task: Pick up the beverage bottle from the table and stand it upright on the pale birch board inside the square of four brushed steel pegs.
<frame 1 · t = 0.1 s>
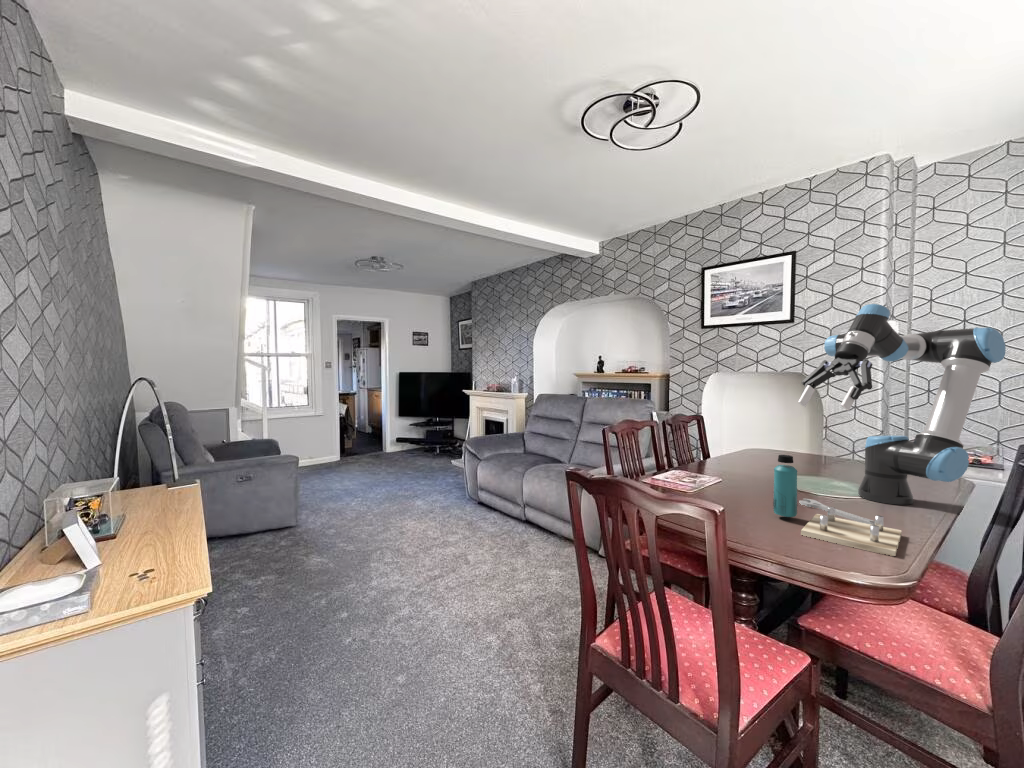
hand: (822, 406, 130), 36 cm above the table, tool tilted 35°, fingers open, 13 cm apart
adjustable wrench: (834, 515, 141), on the table
beverage bottle: (784, 519, 136), on the table
birch board: (851, 535, 122), on the table
steel pegs: (851, 523, 122), on the birch board, point 4 cm above the table
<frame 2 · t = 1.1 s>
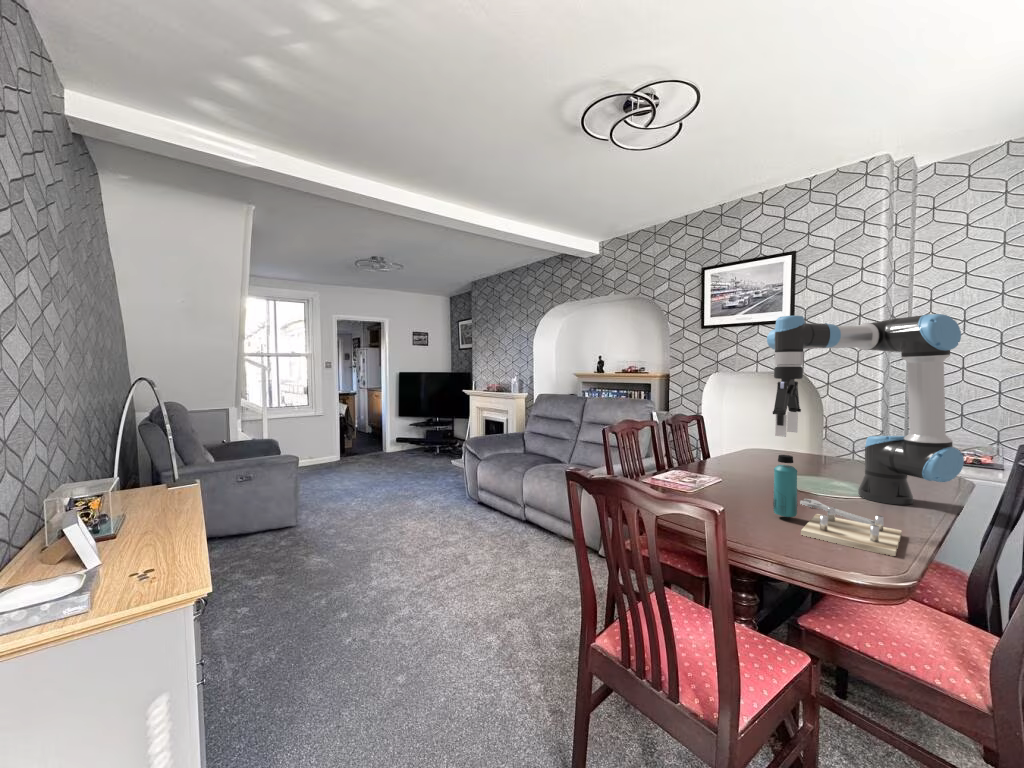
hand: (786, 434, 135), 27 cm above the table, tool pointing down, fingers open, 13 cm apart
nothing on the table moved.
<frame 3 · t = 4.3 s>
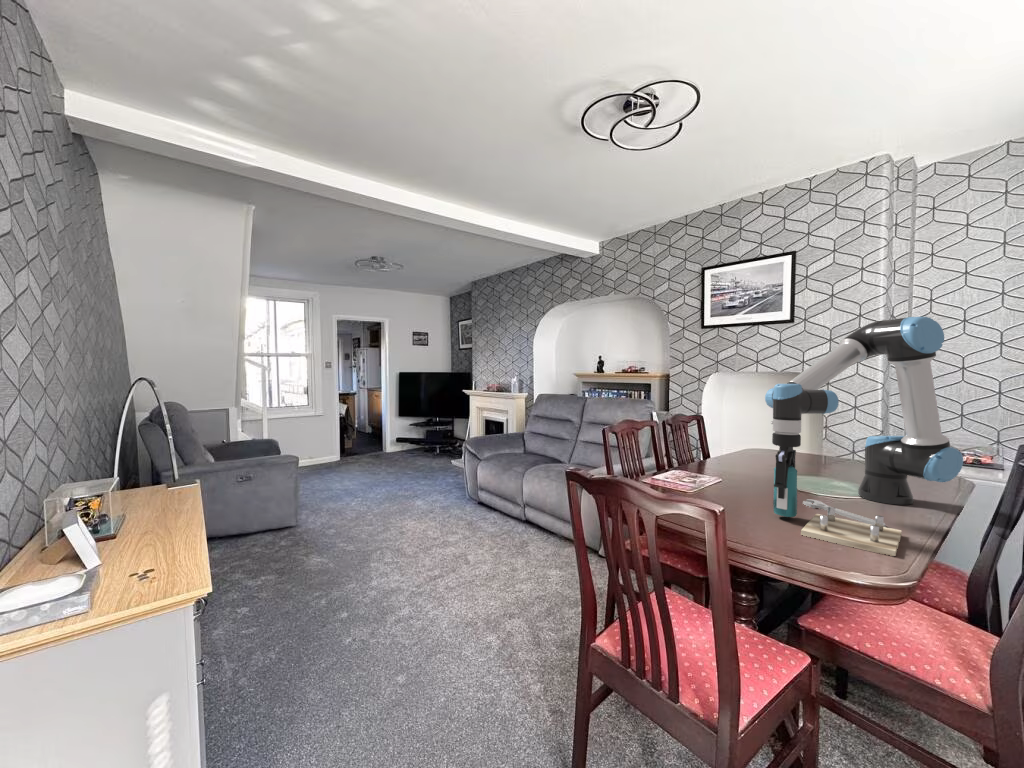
hand: (784, 505, 136), 4 cm above the table, tool pointing down, fingers closed on beverage bottle, 6 cm apart
beverage bottle: (784, 519, 136), on the table, touching gripper
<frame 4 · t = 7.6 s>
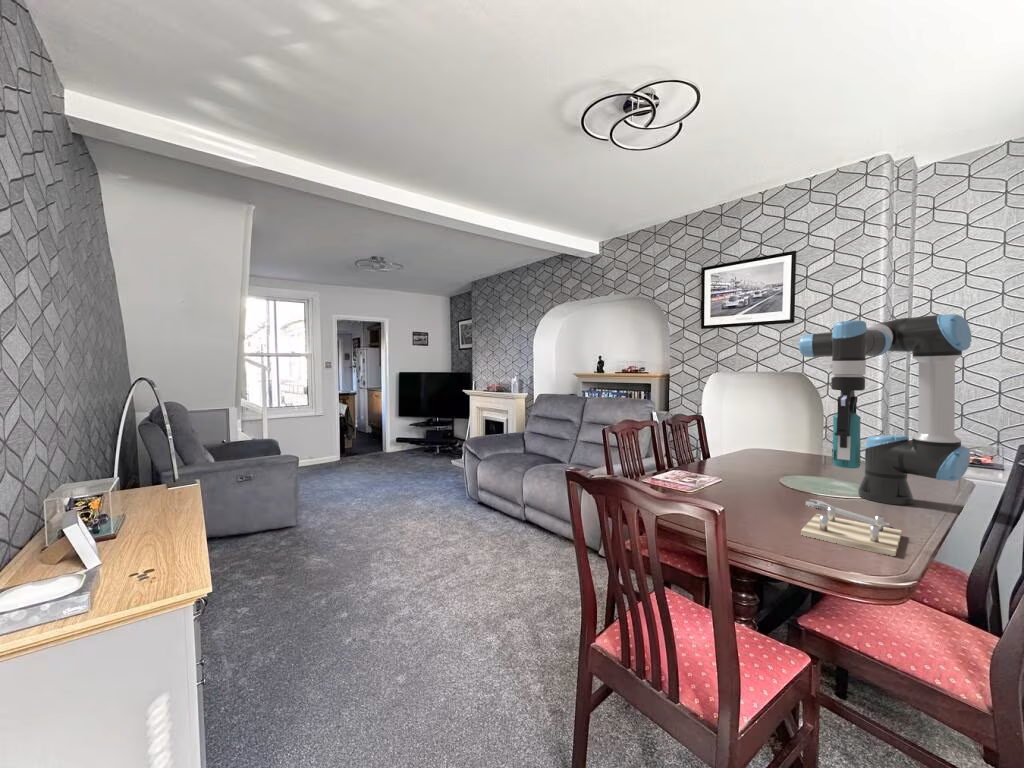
hand: (846, 457, 123), 22 cm above the table, tool pointing down, fingers closed on beverage bottle, 6 cm apart
beverage bottle: (845, 471, 123), point 18 cm above the table, touching gripper
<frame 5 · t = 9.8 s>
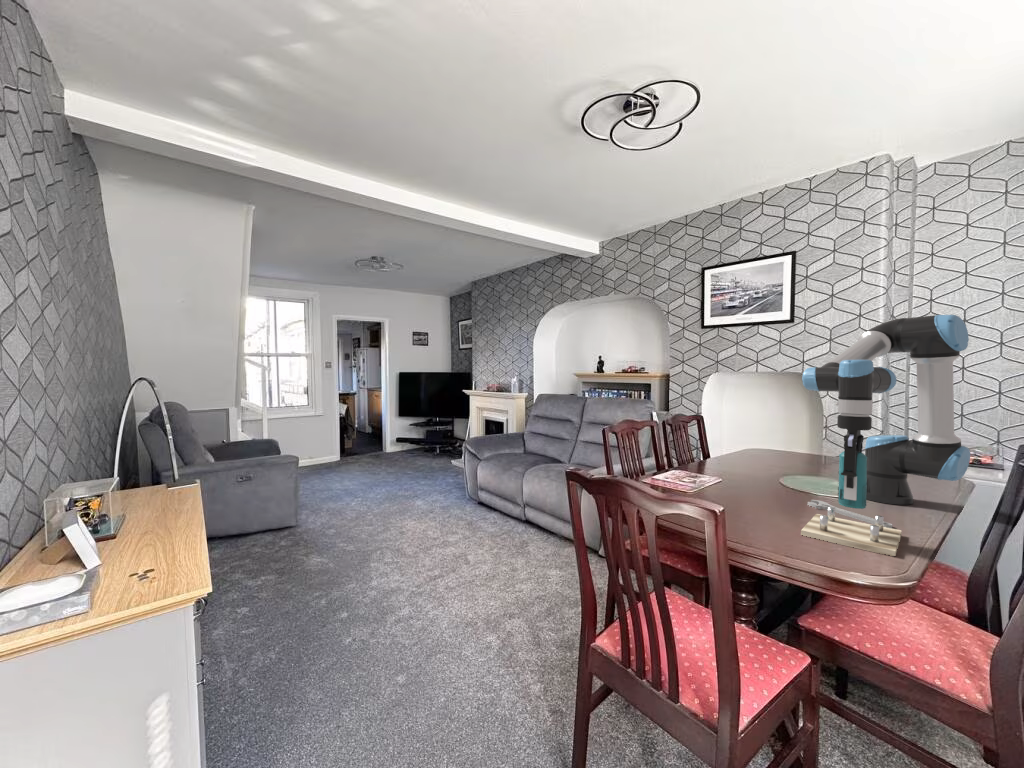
hand: (852, 496, 122), 11 cm above the table, tool pointing down, fingers closed on beverage bottle, 6 cm apart
beverage bottle: (851, 511, 122), point 7 cm above the table, touching gripper
when the fingers open (7 cm above the table, at t = 11.4 s): beverage bottle drops 1 cm, resting on birch board.
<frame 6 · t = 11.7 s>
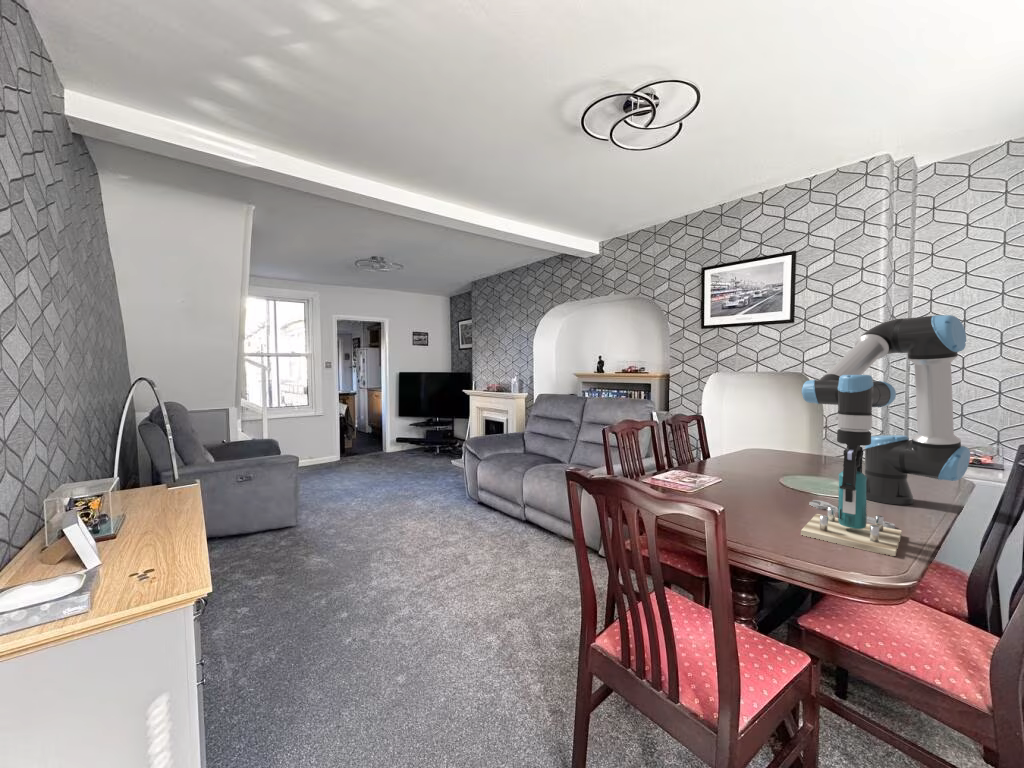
hand: (851, 508, 122), 8 cm above the table, tool pointing down, fingers open, 9 cm apart
beverage bottle: (851, 530, 122), point 1 cm above the table, touching birch board
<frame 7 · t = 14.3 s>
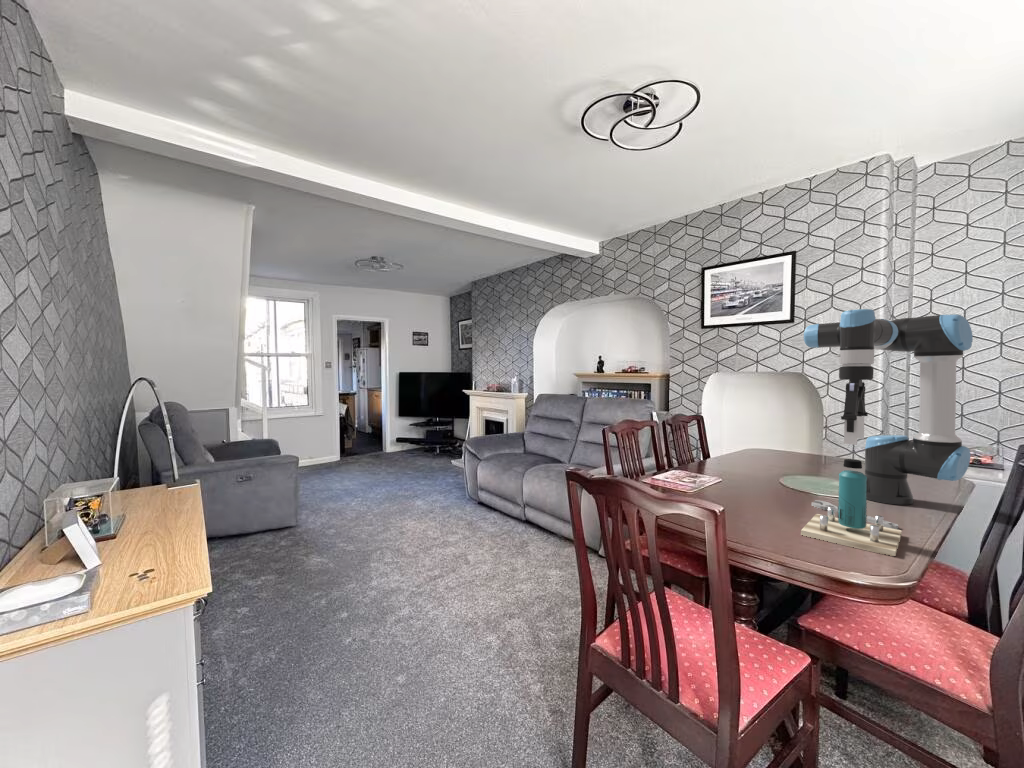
hand: (854, 441, 122), 27 cm above the table, tool pointing down, fingers open, 13 cm apart
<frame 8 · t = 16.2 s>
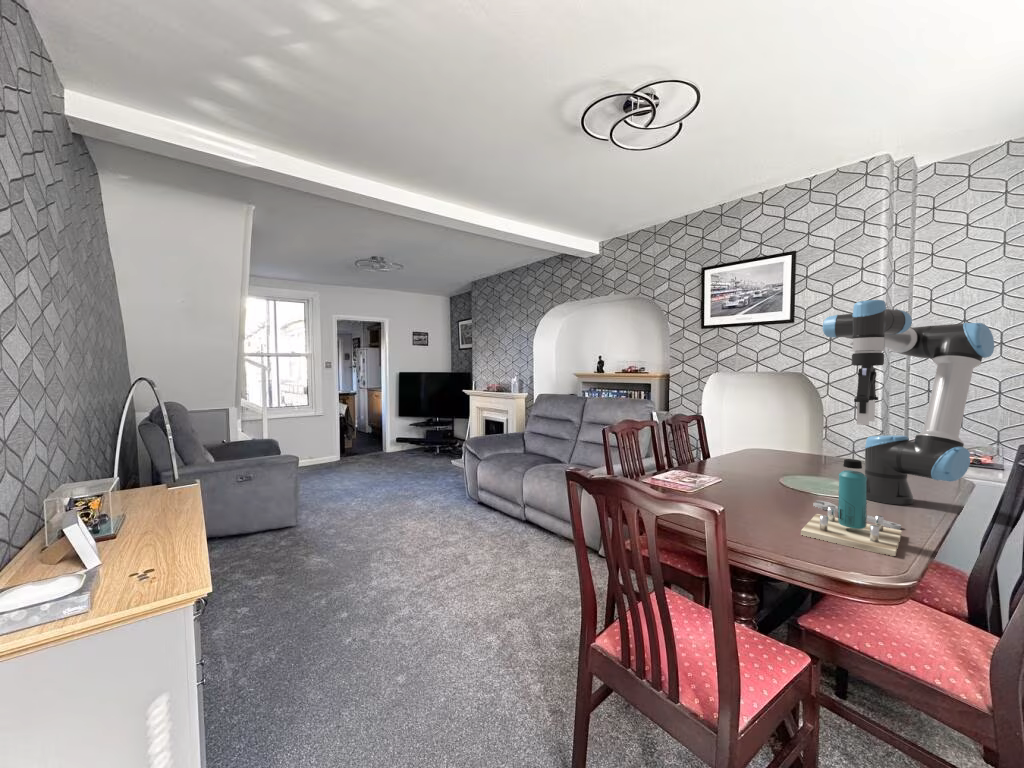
hand: (865, 422, 131), 31 cm above the table, tool pointing down, fingers open, 13 cm apart
at the end: beverage bottle 0.2 cm off-centre on the birch board, point 1.3 cm above the birch board's base; beverage bottle tilted 0°; the gripper is holding nothing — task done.
